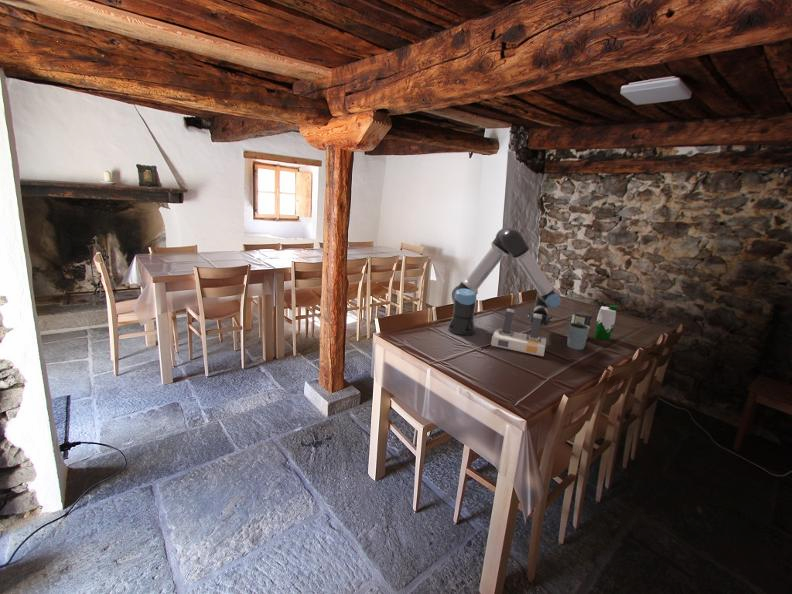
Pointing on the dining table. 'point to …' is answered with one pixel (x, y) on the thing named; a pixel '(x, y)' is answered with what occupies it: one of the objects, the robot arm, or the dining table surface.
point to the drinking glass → (577, 335)
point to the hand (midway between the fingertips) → (538, 325)
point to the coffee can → (582, 318)
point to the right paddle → (536, 326)
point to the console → (519, 342)
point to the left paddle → (508, 320)
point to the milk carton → (605, 322)
